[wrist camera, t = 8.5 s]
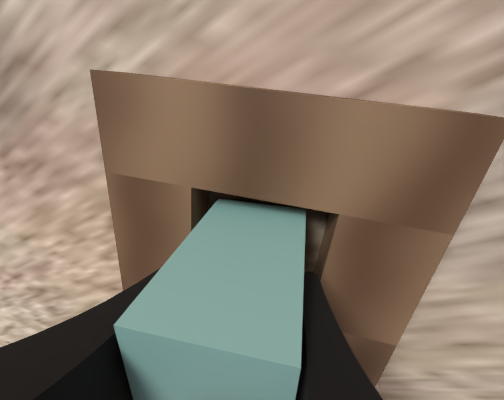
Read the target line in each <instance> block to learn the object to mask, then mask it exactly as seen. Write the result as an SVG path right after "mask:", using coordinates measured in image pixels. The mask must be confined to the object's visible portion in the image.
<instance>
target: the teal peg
mask: <svg viewBox="0 0 504 400" xmlns="http://www.w3.org/2000/svg"><path fill="white" fill-rule="evenodd" d="M305 228H306V209H300V208H292V207H284V206H275V205H267V204H259V203H251V202H243V201H234V200H226V199H218V200H217V201H216V202H215V203H214V205H213V206H212V207H211V208H210V209H209V211H208V212H207V213H206V214H205V215H204V217H203V218H202V219H201V220H200V222H199V223H198V224H197V225H196V226H195V228H194V229H193V230H192V231H191V232H190V234H189V235H188V236H187V237H186V238H185V240H184V241H183V242H182V243H181V244H180V246H179V247H178V248H177V249H176V250H175V252H174V253H173V254H172V255H171V256H170V258H169V259H168V260H167V261H166V262H165V264H164V265H163V266H162V267H161V268H160V270H159V271H158V272H157V273H156V275H155V276H154V277H153V278H152V279H151V281H150V282H149V283H148V284H147V285H146V287H145V288H144V289H143V290H142V291H141V293H140V294H139V295H138V296H137V297H136V299H135V300H134V301H133V302H132V303H131V305H130V306H129V307H128V308H127V309H126V311H125V312H124V313H123V314H122V315H121V317H120V318H119V319H118V320H117V322H116V323H115V324H114V329H115V333H116V337H117V341H118V344H119V348H120V352H121V356H122V359H123V363H124V367H125V371H126V374H127V378H128V382H129V386H130V389H131V393H132V397H133V400H295V398H296V393H297V387H298V382H299V376H300V371H301V351H302V320H303V289H304V259H305Z"/></svg>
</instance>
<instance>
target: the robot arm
mask: <svg viewBox="0 0 504 400" xmlns="http://www.w3.org/2000/svg"><path fill="white" fill-rule="evenodd" d="M159 270H160V268H159V269H158V270H156V271H155V272H153V273H152V274H150V275H148V276H147V277H145V278H144V279H142V280H141V281H139V282H137V283H136V284H134V285H132V286H131V287H129V288H127V289H126V290H124V291H122V292H121V293H119V294H117V295H116V296H114V297H112V298H110V299H109V300H107V301H105V302H103V303H101V304H99V305H97V306H95V307H93V308H91V309H89V310H87V311H85V312H83V313H81V314H79V315H77V316H75V317H73V318H71V319H69V320H66V321H64V322H62V323H59V324H57V325H55V326H53V327H50V328H48V329H46V330H44V331H41V332H39V333H37V334H34V335H32V336H29V337H27V338H24V339H22V340H19V341H16V342H14V343H11V344H9V345H6V346H3V347H0V400H133V397H132V393H131V389H130V386H129V382H128V378H127V374H126V371H125V367H124V363H123V359H122V356H121V352H120V348H119V344H118V341H117V337H116V333H115V329H114V324H115V323H116V322H117V320H118V319H119V318H120V317H121V315H122V314H123V313H124V312H125V311H126V309H127V308H128V307H129V306H130V305H131V303H132V302H133V301H134V300H135V299H136V297H137V296H138V295H139V294H140V293H141V291H142V290H143V289H144V288H145V287H146V285H147V284H148V283H149V282H150V281H151V279H152V278H153V277H154V276H155V275H156V273H157V272H158V271H159ZM295 400H383V399H382V398H381V396H380V395H379V393H378V392H377V390H376V389H375V387H374V386H373V384H372V383H371V381H370V379H369V378H368V376H367V375H366V373H365V371H364V370H363V368H362V367H361V365H360V363H359V361H358V360H357V358H356V356H355V355H354V353H353V351H352V349H351V347H350V346H349V344H348V342H347V340H346V338H345V336H344V335H343V333H342V331H341V329H340V327H339V325H338V323H337V320H336V318H335V316H334V314H333V312H332V310H331V308H330V305H329V303H328V301H327V298H326V296H325V293H324V291H323V288H322V285H321V282H320V278H319V276H318V275H317V273H311V272H305V271H304V289H303V320H302V351H301V371H300V376H299V382H298V387H297V393H296V398H295Z"/></svg>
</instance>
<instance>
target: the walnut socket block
mask: <svg viewBox="0 0 504 400" xmlns="http://www.w3.org/2000/svg"><path fill="white" fill-rule="evenodd" d="M90 74H91V80H92V87H93V93H94V100H95V107H96V113H97V120H98V127H99V133H100V140H101V147H102V153H103V160H104V166H105V173H106V180H107V186H108V193H109V200H110V206H111V213H112V220H113V226H114V233H115V239H116V246H117V253H118V259H119V266H120V273H121V279H122V286H123V291H124V290H126V289H127V288H129V287H131V286H132V285H134V284H136V283H137V282H139V281H141V280H142V279H144V278H145V277H147V276H148V275H150V274H152V273H153V272H155V271H156V270H158V269H159V268H161V267H162V266H163V265H164V264H165V262H166V261H167V260H168V259H169V258H170V256H171V255H172V254H173V253H174V252H175V250H176V249H177V248H178V247H179V246H180V244H181V243H182V242H183V241H184V240H185V238H186V237H187V236H188V235H189V234H190V232H191V231H192V230H193V229H194V228H195V226H196V225H197V224H198V223H199V222H200V220H201V219H202V218H203V217H204V215H205V214H206V213H207V204H208V191H214V192H219V193H225V194H230V195H236V196H241V197H247V198H252V199H258V200H263V201H269V202H274V203H280V204H285V205H291V206H296V207H302V208H307V209H313V210H318V211H324V212H329V213H330V214H329V218H328V222H327V226H326V229H325V233H324V237H323V241H322V245H321V248H320V252H319V256H318V260H317V264H316V267H315V271H314V273H317V275H318V276H319V278H320V282H321V285H322V288H323V291H324V293H325V296H326V298H327V301H328V303H329V305H330V308H331V310H332V312H333V314H334V316H335V318H336V320H337V323H338V325H339V327H340V329H341V331H342V333H343V335H344V336H345V338H346V340H347V342H348V344H349V346H350V347H351V349H352V351H353V353H354V355H355V356H356V358H357V360H358V361H359V363H360V365H361V367H362V368H363V370H364V371H365V373H366V375H367V376H368V378H369V379H370V381H371V383H372V384H373V386H374V387H375V386H376V384H377V382H378V380H379V378H380V376H381V374H382V372H383V371H384V369H385V367H386V365H387V363H388V361H389V359H390V357H391V355H392V353H393V351H394V349H395V347H396V346H397V344H398V342H399V340H400V338H401V336H402V334H403V332H404V330H405V328H406V326H407V324H408V322H409V321H410V319H411V317H412V315H413V313H414V311H415V309H416V307H417V305H418V303H419V301H420V299H421V297H422V296H423V294H424V292H425V290H426V288H427V286H428V284H429V282H430V280H431V278H432V276H433V274H434V272H435V271H436V269H437V267H438V265H439V263H440V261H441V259H442V257H443V255H444V253H445V251H446V249H447V247H448V246H449V244H450V242H451V240H452V238H453V236H454V234H455V232H456V230H457V228H458V226H459V224H460V222H461V221H462V219H463V217H464V215H465V213H466V211H467V209H468V207H469V205H470V203H471V201H472V199H473V197H474V196H475V194H476V192H477V190H478V188H479V186H480V184H481V182H482V180H483V178H484V176H485V174H486V172H487V171H488V169H489V167H490V165H491V163H492V161H493V159H494V157H495V155H496V153H497V151H498V149H499V147H500V146H501V144H502V142H503V140H504V118H503V117H497V116H490V115H484V114H477V113H469V112H461V111H452V110H443V109H435V108H426V107H418V106H409V105H400V104H392V103H383V102H375V101H366V100H357V99H349V98H340V97H331V96H323V95H314V94H306V93H297V92H288V91H280V90H271V89H263V88H254V87H245V86H237V85H228V84H220V83H211V82H202V81H194V80H185V79H176V78H168V77H159V76H151V75H142V74H133V73H125V72H113V71H101V70H90Z"/></svg>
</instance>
